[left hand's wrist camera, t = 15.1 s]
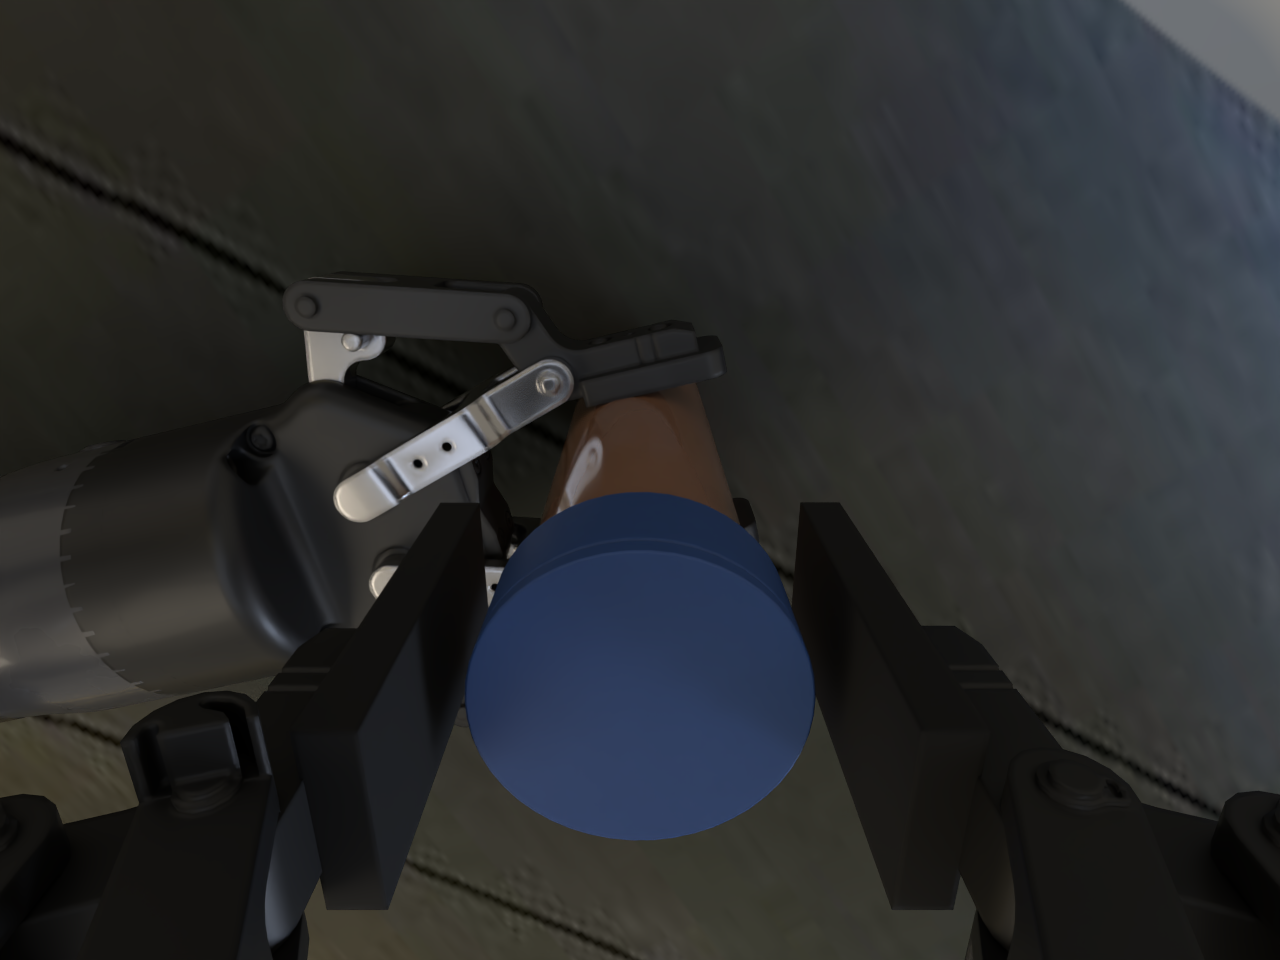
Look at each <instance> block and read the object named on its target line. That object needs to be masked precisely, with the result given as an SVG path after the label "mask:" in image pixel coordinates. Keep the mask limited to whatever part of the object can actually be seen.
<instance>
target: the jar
mask: <svg viewBox="0 0 1280 960" xmlns="http://www.w3.org/2000/svg"><path fill="white" fill-rule="evenodd" d="M626 492H653V493H662V494H670V495H674V496H678V497H683V498H687V499H690V500H693V501H696V502H698V503H701V504H704V505H707V506H709V507H711V508H713V509H715V510H717V511H718V512H720V513H722V514H724V515H726V516H727V517H729V518H730V519H732V520H733V521H734V522H736V523H737V524H739V525H740V522H739V519H738V515H737V512H736V509H735V506H734V503H733V499H732V496H731V493H730V490H729V487H728V483H727V480H726V477H725V474H724V471H723V467H722V464H721V461H720V458H719V455H718V451H717V448H716V445H715V442H714V439H713V435H712V432H711V429H710V426H709V422H708V419H707V416H706V413H705V410H704V406H703V403H702V400H701V397H700V394H699V390H698V387H697V384H696V383H692V384H687V385H683V386H679V387H674V388H670V389H666V390H661V391H657V392H653V393H648V394H644V395H640V396H635V397H631V398H625V399H620V400H616V401H613V402H609V403H605V404H600V405H596V406H592V407H587V408H586V405H585V401H584V398H579V399H578V401H577V405H576V408H575V411H574V414H573V417H572V421H571V424H570V427H569V430H568V434H567V437H566V440H565V443H564V446H563V450H562V453H561V456H560V459H559V463H558V466H557V469H556V472H555V476H554V479H553V482H552V485H551V488H550V492H549V495H548V498H547V501H546V505H545V508H544V511H543V514H542V518H541V521H540V524H539V526H540V525H541V524H543V523H544V522H545V521H547V520H548V519H549V518H551V517H553V516H554V515H556V514H558V513H560V512H561V511H563V510H565V509H567V508H569V507H571V506H574V505H576V504H579V503H581V502H584V501H586V500H590V499H594V498H598V497H601V496H605V495H611V494H618V493H626ZM740 526H741V525H740Z"/></svg>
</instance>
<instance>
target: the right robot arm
mask: <svg viewBox="0 0 1280 960" xmlns="http://www.w3.org/2000/svg"><path fill="white" fill-rule="evenodd" d="M282 304H283V309H284V312H285V314H286V316H287V318H288V319H289V320H290V322H291V323H292V324H294V325H295V326H296V327H298V328H300V329H302V330H304V337H305V347H306V357H307V367H308V377H309V383H307V384H305V385H303V386H301V387H300V388H298V389H297V390H296V391H295V392H294V393H293V394H292V395H291V396H290V397H289V398H288V399H287V400H286V401H285V402H284V403H282V404H280V405H276V406H272V407H268V408H264V409H260V410H255V411H251V412H247V413H243V414H238V415H234V416H230V417H226V418H222V419H217V420H213V421H209V422H205V423H201V424H196V425H192V426H188V427H184V428H179V429H175V430H171V431H167V432H163V433H159V434H154V435H150V436H146V437H142V438H137V439H133V440H129V441H126V440H118V441H110V442H104V443H99V444H94V445H90V446H87V447H84V449H83V450H80V451H79V452H78V453H74V454H70V455H66V456H61V457H58V458H54V459H50V460H47V461H43V462H40V463H37V464H34V465H30V466H27V467H25V468H22V469H19V470H17V471H14V472H12V473H9V474H7V475H5V476H2V477H0V723H1V722H5V721H10V720H15V719H20V718H24V717H31V716H38V715H45V714H64V713H82V712H94V711H101V710H107V709H113V708H118V707H123V706H128V705H133V704H138V703H143V702H148V701H153V700H158V699H163V698H168V697H173V696H178V695H183V694H187V693H192V692H197V691H202V690H207V689H212V688H217V687H222V686H226V685H231V684H236V683H241V682H246V681H251V680H256V679H261V678H265V677H270V676H275V675H277V674H278V673H281V672H282V668H283V666H284V665H285V664H286V663H287V661H288V660H289V659H290V657H291V656H292V655H293V653H294V652H295V651H296V649H297V648H298V647H299V646H300V645H302V644H303V643H305V642H306V641H308V640H309V639H311V638H312V637H314V636H315V635H317V634H318V633H320V632H321V631H322V630H324V629H325V628H358V627H359V625H360V624H361V622H362V621H363V619H364V617H365V616H366V614H367V613H368V611H369V610H370V608H371V607H372V605H373V604H374V602H375V601H376V599H377V598H378V596H379V595H380V593H381V592H382V590H383V589H384V587H385V586H386V584H387V583H388V581H389V580H390V578H391V577H392V575H393V574H394V572H395V571H396V569H397V568H398V566H399V565H400V563H401V562H402V560H403V559H404V557H405V556H406V554H407V552H408V551H409V549H410V548H411V546H412V545H413V543H414V542H415V540H416V539H417V537H418V536H419V534H420V533H421V531H422V530H423V528H424V527H425V525H426V524H427V522H428V521H429V519H430V518H431V516H432V515H433V513H434V512H435V510H436V509H437V507H438V506H439V504H440V503H480V515H481V527H482V538H483V550H484V562H485V574H486V585H487V597H488V607H489V606H490V603H491V600H492V598H493V595H494V592H495V590H496V587H497V584H498V582H499V579H500V576H501V574H502V572H503V570H504V568H505V566H506V564H507V562H508V561H509V559H510V557H511V556H512V554H513V553H514V552H515V551H516V549H517V548H518V547H519V545H520V544H521V543H522V542H523V541H524V540H525V539H526V538H527V537H528V536H529V535H530V534H531V533H532V532H533V531H534V530H535V529H536V528H537V527H539V524H540V521H541V518H529V517H512V516H511V513H510V510H509V507H508V504H507V503H506V501H505V500H504V498H503V497H502V495H501V493H500V492H499V490H498V489H497V487H496V486H495V484H494V482H493V465H492V454H491V451H490V449H491V448H493V447H494V446H496V445H497V444H498V443H500V442H501V441H502V440H503V439H504V438H505V437H507V436H508V435H509V434H511V433H513V432H514V431H516V430H518V429H520V428H521V427H523V426H525V425H526V424H528V423H530V422H532V421H533V420H535V419H537V418H539V417H540V416H542V415H544V414H546V413H547V412H549V411H551V410H553V409H554V408H556V407H558V406H559V405H561V404H563V403H564V402H566V401H571V400H575V399H579V398H584V401H585V405H586V408H587V407H592V406H596V405H600V404H605V403H609V402H613V401H616V400H620V399H625V398H631V397H635V396H640V395H644V394H648V393H653V392H657V391H661V390H666V389H670V388H674V387H679V386H683V385H687V384H692V383H696V382H701V381H705V380H709V379H713V378H716V377H719V376H722V375H724V374H725V373H726V372H727V368H726V363H725V358H724V353H723V348H722V344H721V342H720V341H719V339H718V337H717V336H703V337H698V338H696V334H695V330H694V328H693V326H692V323H689V322H682V321H676V320H669V321H665V322H661V323H656V324H652V325H648V326H644V327H640V328H636V329H631V330H627V331H623V332H618V333H614V334H610V335H606V336H602V337H597V338H593V339H589V340H574V339H570V338H568V337H566V336H565V335H563V334H562V333H561V332H560V331H559V330H558V329H557V328H556V326H555V325H554V324H553V322H552V321H551V319H550V318H549V316H548V315H547V313H546V312H545V311H544V309H543V308H542V301H541V298H540V296H539V294H538V293H537V291H536V290H535V289H533V288H532V287H530V286H529V285H526V284H521V283H507V282H492V281H477V280H462V279H447V278H432V277H417V276H402V275H387V274H372V273H357V272H336V273H331V274H326V275H321V276H317V277H313V278H309V279H306V280H302V281H297V282H295V283H293V284H291V285H290V286H289V287H288V288H287V289H286V291H285V292H284V295H283V301H282ZM396 337H405V338H420V339H436V340H451V341H467V342H482V343H498V344H499V345H500V347H501V348H502V349H503V351H504V352H505V354H506V355H507V356H508V358H509V359H510V360H511V362H512V363H513V365H514V366H512V367H510V368H509V369H507V370H505V371H504V372H502V373H500V374H498V375H495V376H493V377H491V378H489V379H487V380H485V381H484V382H482V383H480V384H479V385H477V386H475V387H474V388H472V389H470V390H469V391H467V392H465V393H463V394H462V395H460V396H458V397H457V398H455V399H453V400H452V401H450V402H448V403H447V404H445V405H443V406H442V407H438V406H436V405H433V404H430V403H428V402H425V401H423V400H420V399H418V398H415V397H413V396H410V395H407V394H405V393H402V392H400V391H397V390H395V389H392V388H390V387H387V386H384V385H382V384H379V383H377V382H374V381H372V380H369V379H367V378H364V377H361V376H359V375H356V370H357V366H358V364H359V362H360V361H361V360H370V359H373V358H375V357H377V356H379V355H380V354H382V353H384V352H385V351H387V350H388V349H390V348H391V347H392V345H393V344H394V342H395V339H396ZM732 499H733V503H734V506H735V509H736V512H737V515H738V519H739V522H740V525H741V526H742V527H743V528H744V529H745V530H746V531H747V532H748V533H749V534H750V535H751V536H752V537H753V538H755V539H756V541H757V542H758V543H759V537H758V531H757V526H756V521H755V517H754V514H753V512H752V509H751V506H750V503H749V501H748V500H747V499H744V498H732ZM507 558H509V559H507ZM464 699H465V694H464V697H463V700H462V703H461V706H460V708H459V711H458V714H457V717H456V720H455V723H454V724H455V725H457V726H460V727H469V724H468V721H467V716H466V708H465V700H464Z"/></svg>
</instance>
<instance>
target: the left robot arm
mask: <svg viewBox="0 0 1280 960" xmlns="http://www.w3.org/2000/svg"><path fill="white" fill-rule="evenodd" d="M487 611H488V597H487V585H486V574H485V562H484V550H483V538H482V527H481V515H480V503H440V504H439V506H438V507H437V509H436V510H435V512H434V513H433V515H432V516H431V518H430V519H429V521H428V522H427V524H426V525H425V527H424V528H423V530H422V531H421V533H420V534H419V536H418V537H417V539H416V540H415V542H414V543H413V545H412V546H411V548H410V549H409V551H408V552H407V554H406V556H405V557H404V559H403V560H402V562H401V563H400V565H399V566H398V568H397V569H396V571H395V572H394V574H393V575H392V577H391V578H390V580H389V581H388V583H387V584H386V586H385V587H384V589H383V590H382V592H381V593H380V595H379V596H378V598H377V599H376V601H375V602H374V604H373V605H372V607H371V608H370V610H369V611H368V613H367V614H366V616H365V617H364V619H363V621H362V622H361V624H360V625H359V627H358V628H325V629H324V630H322V631H321V632H320V633H318V634H317V635H315V636H314V637H312V638H311V639H309V640H308V641H306V642H305V643H303V644H302V645H300V646H299V647H298V648H297V649H296V651H295V652H294V653H293V655H292V656H291V657H290V659H289V660H288V661H287V663H286V664H285V665H284V666H283V668H282V672H281V673H278V674H277V676H276V677H275V678H274V679H273V681H272V682H271V683H270V685H269V686H268V691H264V693H263V694H262V695H261V696H260V698H259V699H258V700H257V702H255V701H253V700H252V699H251V698H250V697H249V696H247V695H246V694H241V693H236V692H232V691H217V692H204V693H200V694H197V695H193V696H189V697H185V698H182V699H178V700H176V701H174V702H172V703H170V704H167V705H165V706H163V707H161V708H159V709H157V710H155V711H153V712H151V713H150V714H149V715H147V716H146V717H145V718H143V719H142V720H140V721H139V722H138V723H136V724H135V725H133V726H132V728H131V729H130V730H129V732H128V733H127V734H126V735H125V737H124V738H123V739H122V740H121V742H120V744H121V747H122V750H123V753H124V756H125V759H126V763H127V766H128V769H129V772H130V775H131V778H132V782H133V785H134V788H135V791H136V794H137V797H138V801H139V805H138V806H137V807H134V808H131V809H127V810H124V811H119V812H115V813H111V814H106V815H102V816H97V817H93V818H89V819H84V820H80V821H76V822H71V823H67V824H62V821H61V818H60V815H59V813H58V810H57V807H56V805H55V804H54V803H52V802H51V801H50V800H48V799H47V798H46V797H44V796H38V795H28V794H20V795H14V796H8V797H3V798H0V960H307V956H308V946H309V934H308V927H307V921H306V917H305V913H304V909H305V907H306V905H307V903H308V901H309V899H310V897H311V895H312V893H313V890H314V888H315V886H316V884H317V882H318V880H319V878H320V880H321V885H322V889H323V894H324V899H325V903H326V908H327V910H388V908H389V905H390V902H391V900H392V897H393V894H394V891H395V888H396V886H397V883H398V880H399V877H400V874H401V872H402V869H403V866H404V863H405V860H406V857H407V855H408V852H409V849H410V846H411V843H412V841H413V838H414V835H415V832H416V829H417V827H418V824H419V821H420V818H421V815H422V813H423V810H424V807H425V804H426V801H427V798H428V796H429V793H430V790H431V787H432V784H433V782H434V779H435V776H436V773H437V770H438V768H439V765H440V762H441V759H442V756H443V753H444V751H445V748H446V745H447V742H448V739H449V737H450V734H451V731H452V728H453V725H454V723H455V720H456V717H457V714H458V711H459V708H460V706H461V703H462V700H463V697H464V694H465V679H466V674H467V669H468V664H469V660H470V657H471V654H472V652H473V649H474V646H475V644H476V641H477V638H478V636H479V633H480V630H481V627H482V625H483V622H484V619H485V617H486V614H487ZM792 611H793V613H794V616H795V619H796V621H797V624H798V627H799V630H800V632H801V635H802V638H803V640H804V643H805V646H806V648H807V651H808V654H809V656H810V660H811V664H812V669H813V673H814V680H815V693H816V697H817V700H818V703H819V706H820V708H821V711H822V714H823V717H824V720H825V723H826V725H827V728H828V731H829V734H830V737H831V739H832V742H833V745H834V748H835V751H836V753H837V756H838V759H839V762H840V765H841V768H842V770H843V773H844V776H845V779H846V782H847V784H848V787H849V790H850V793H851V796H852V798H853V801H854V804H855V807H856V810H857V812H858V815H859V818H860V821H861V824H862V827H863V829H864V832H865V835H866V838H867V841H868V843H869V846H870V849H871V852H872V855H873V857H874V860H875V863H876V866H877V869H878V872H879V874H880V877H881V880H882V883H883V886H884V888H885V891H886V894H887V897H888V900H889V902H890V905H891V908H892V910H953V908H954V903H955V899H956V894H957V889H958V885H959V880H960V875H961V876H962V878H963V880H964V883H965V885H966V887H967V889H968V891H969V893H970V895H971V897H972V899H973V901H974V904H975V906H976V913H975V917H974V921H973V926H972V930H971V934H970V939H969V943H968V948H967V952H966V956H965V960H1280V795H1279V794H1273V793H1268V792H1262V791H1252V792H1242V793H1237V794H1235V795H1234V796H1233V797H1231V798H1230V799H1229V800H1227V801H1226V802H1225V805H1224V807H1223V810H1222V813H1221V816H1220V818H1219V821H1214V820H1209V819H1205V818H1201V817H1196V816H1192V815H1187V814H1183V813H1179V812H1174V811H1170V810H1166V809H1161V808H1157V807H1153V806H1150V805H1147V804H1143V803H1141V802H1140V800H1139V799H1138V797H1137V796H1136V794H1135V793H1134V791H1133V790H1132V788H1131V787H1130V785H1129V784H1128V783H1126V782H1125V781H1124V780H1123V779H1122V778H1120V777H1119V776H1118V775H1117V774H1115V773H1114V772H1113V771H1112V770H1111V769H1109V768H1107V767H1105V766H1104V765H1102V764H1100V763H1098V762H1096V761H1094V760H1092V759H1090V758H1088V757H1086V756H1083V755H1080V754H1077V753H1074V752H1070V751H1067V750H1064V749H1062V748H1061V746H1060V745H1059V744H1058V742H1057V741H1056V740H1055V739H1054V737H1053V736H1052V735H1051V733H1050V732H1049V731H1048V730H1047V728H1046V727H1045V726H1044V724H1043V723H1042V722H1041V720H1040V719H1039V718H1038V717H1037V715H1036V714H1035V713H1034V711H1033V710H1032V709H1031V707H1030V706H1029V705H1028V704H1027V702H1026V701H1025V700H1024V698H1023V697H1022V696H1021V694H1020V693H1019V692H1018V691H1017V689H1013V686H1012V685H1013V684H1012V683H1011V682H1010V680H1009V679H1008V678H1007V676H1006V675H1005V674H1004V672H1003V671H1002V670H999V666H998V665H997V663H996V662H995V661H994V659H993V658H992V657H991V656H990V654H989V653H988V652H987V650H986V649H985V648H984V647H983V645H982V644H980V643H979V642H978V641H976V640H975V639H973V638H972V637H970V636H969V635H967V634H966V633H964V632H963V631H961V630H960V629H958V628H957V627H955V626H921V625H920V624H919V622H918V620H917V619H916V617H915V616H914V614H913V613H912V611H911V610H910V608H909V607H908V605H907V604H906V602H905V601H904V599H903V598H902V596H901V595H900V593H899V592H898V590H897V589H896V587H895V586H894V584H893V583H892V581H891V580H890V578H889V577H888V575H887V574H886V572H885V571H884V569H883V568H882V566H881V565H880V563H879V562H878V560H877V559H876V557H875V556H874V554H873V552H872V551H871V549H870V548H869V546H868V545H867V543H866V542H865V540H864V539H863V537H862V536H861V534H860V533H859V531H858V530H857V528H856V527H855V525H854V524H853V522H852V521H851V519H850V518H849V516H848V515H847V513H846V512H845V510H844V509H843V507H842V506H841V504H840V503H800V515H799V527H798V539H797V550H796V562H795V574H794V586H793V597H792Z"/></svg>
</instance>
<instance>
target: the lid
mask: <svg viewBox="0 0 1280 960" xmlns="http://www.w3.org/2000/svg"><path fill="white" fill-rule="evenodd" d="M815 696H816V693H815V680H814V673H813V669H812V664H811V660H810V656H809V654H808V651H807V648H806V646H805V643H804V640H803V638H802V635H801V632H800V630H799V627H798V624H797V621H796V619H795V616H794V613H793V611H792V608H791V605H790V603H789V600H788V597H787V595H786V592H785V589H784V587H783V584H782V582H781V579H780V577H779V574H778V572H777V569H776V568H775V566H774V564H773V563H772V561H771V559H770V558H769V556H768V554H767V553H766V552H765V550H764V549H763V548H762V547H761V546H760V544H759V543H758V542H757V541H756V539H755V538H753V537H752V536H751V535H750V534H749V533H748V532H747V531H746V530H745V529H744V528H743V527H742V526H740V525H739V524H737V523H736V522H734V521H733V520H732V519H730V518H729V517H727V516H726V515H724V514H722V513H720V512H718V511H717V510H715V509H713V508H711V507H709V506H707V505H704V504H701V503H698V502H696V501H693V500H690V499H687V498H683V497H678V496H674V495H670V494H662V493H653V492H626V493H618V494H611V495H605V496H601V497H598V498H594V499H590V500H586V501H584V502H581V503H579V504H576V505H574V506H571V507H569V508H567V509H565V510H563V511H561V512H560V513H558V514H556V515H554V516H553V517H551V518H549V519H548V520H547V521H545V522H544V523H543V524H541V525H540V526H539V527H537V528H536V529H535V530H534V531H533V532H532V533H531V534H530V535H529V536H528V537H527V538H526V539H525V540H524V541H523V542H522V543H521V544H520V545H519V547H518V548H517V549H516V551H515V552H514V553H513V554H512V556H511V557H510V559H509V561H508V562H507V564H506V566H505V568H504V570H503V572H502V574H501V576H500V579H499V582H498V584H497V587H496V590H495V592H494V595H493V598H492V600H491V603H490V606H489V609H488V611H487V614H486V617H485V619H484V622H483V625H482V627H481V630H480V633H479V636H478V638H477V641H476V644H475V646H474V649H473V652H472V654H471V657H470V660H469V664H468V669H467V674H466V679H465V699H464V700H465V708H466V716H467V721H468V724H469V728H470V731H471V735H472V738H473V740H474V743H475V745H476V747H477V749H478V751H479V754H480V756H481V757H482V759H483V760H484V762H485V763H486V765H487V767H488V768H489V770H490V771H491V772H492V774H493V775H494V776H495V777H496V778H497V779H498V781H499V782H500V783H501V784H502V785H503V786H504V787H505V788H506V789H507V790H508V791H509V792H510V793H511V794H512V795H513V796H515V797H516V798H517V799H518V800H519V801H521V802H522V803H524V804H525V805H526V806H528V807H529V808H531V809H532V810H533V811H535V812H537V813H539V814H541V815H542V816H544V817H546V818H548V819H550V820H551V821H554V822H556V823H559V824H561V825H563V826H566V827H568V828H570V829H574V830H577V831H581V832H584V833H587V834H591V835H596V836H601V837H606V838H613V839H624V840H657V839H666V838H674V837H679V836H684V835H688V834H693V833H696V832H699V831H703V830H706V829H709V828H712V827H715V826H717V825H719V824H721V823H724V822H726V821H728V820H730V819H732V818H734V817H736V816H738V815H739V814H741V813H743V812H744V811H746V810H748V809H750V808H751V807H752V806H754V805H755V804H756V803H758V802H759V801H760V800H762V799H763V798H764V797H766V796H767V795H768V794H769V793H770V792H771V791H772V790H773V789H774V788H775V787H776V786H777V785H778V784H779V783H780V782H781V781H782V779H783V778H784V777H785V776H786V774H787V773H788V772H789V771H790V769H791V768H792V767H793V765H794V763H795V762H796V760H797V758H798V757H799V755H800V753H801V752H802V749H803V747H804V745H805V742H806V740H807V737H808V735H809V732H810V728H811V724H812V720H813V716H814V708H815Z"/></svg>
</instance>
